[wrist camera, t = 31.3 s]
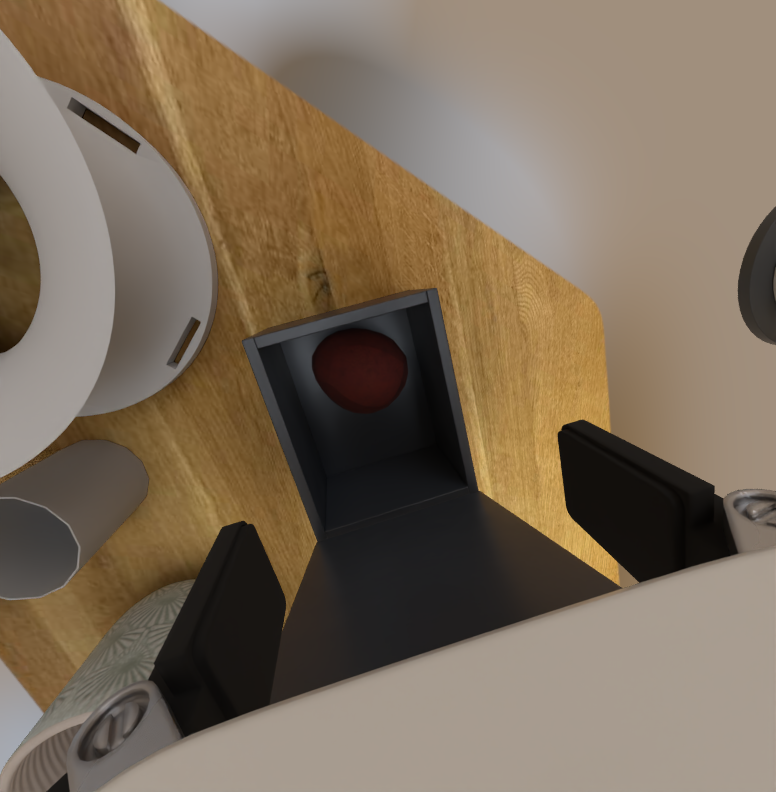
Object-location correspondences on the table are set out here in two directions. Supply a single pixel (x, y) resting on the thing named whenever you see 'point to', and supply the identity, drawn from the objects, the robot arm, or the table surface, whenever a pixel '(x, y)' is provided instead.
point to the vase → (94, 264)
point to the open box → (367, 417)
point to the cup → (64, 514)
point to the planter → (94, 688)
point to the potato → (360, 369)
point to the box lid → (421, 590)
